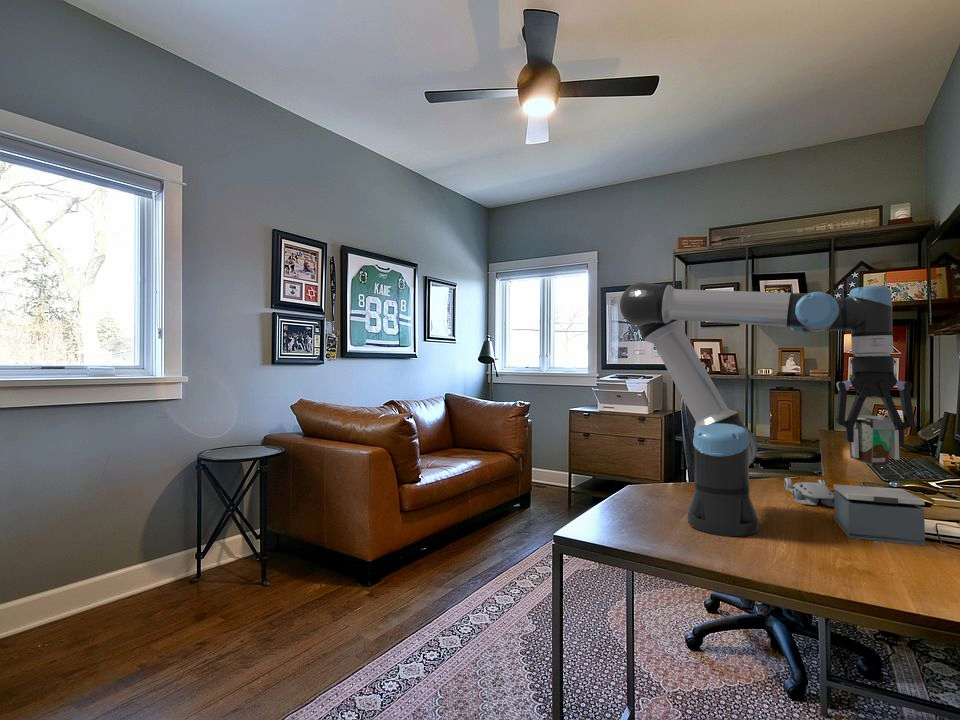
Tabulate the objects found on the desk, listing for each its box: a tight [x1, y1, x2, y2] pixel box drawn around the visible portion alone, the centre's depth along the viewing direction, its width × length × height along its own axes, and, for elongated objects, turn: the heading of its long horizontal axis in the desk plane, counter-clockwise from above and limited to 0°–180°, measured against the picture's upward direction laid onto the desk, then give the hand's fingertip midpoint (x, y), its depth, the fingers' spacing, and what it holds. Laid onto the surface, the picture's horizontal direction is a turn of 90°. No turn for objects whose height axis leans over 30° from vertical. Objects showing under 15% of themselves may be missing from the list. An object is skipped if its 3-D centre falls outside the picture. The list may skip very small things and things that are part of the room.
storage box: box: [833, 488, 926, 546], centre depth 115 cm, size 13×14×8 cm
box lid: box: [833, 483, 926, 506], centre depth 115 cm, size 13×15×1 cm
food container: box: [846, 414, 895, 467], centre depth 115 cm, size 12×6×10 cm, turn 168°
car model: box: [783, 477, 835, 508], centre depth 145 cm, size 11×24×5 cm, turn 159°
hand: (874, 457), depth 115 cm, fingers closed on food container, 7 cm apart
